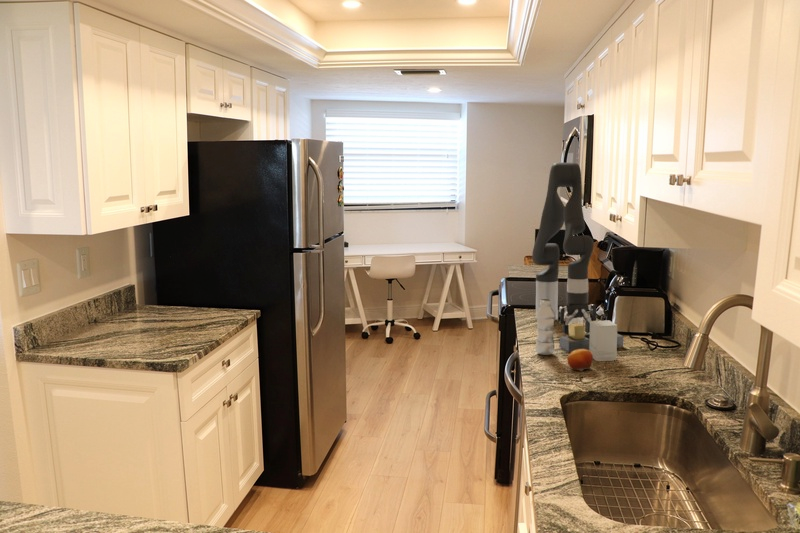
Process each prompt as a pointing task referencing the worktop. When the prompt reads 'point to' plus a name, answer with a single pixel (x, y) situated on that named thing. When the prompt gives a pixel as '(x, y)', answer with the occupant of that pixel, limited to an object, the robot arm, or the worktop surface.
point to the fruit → (580, 359)
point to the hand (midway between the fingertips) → (576, 333)
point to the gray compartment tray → (582, 343)
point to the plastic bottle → (545, 328)
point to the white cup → (574, 319)
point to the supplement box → (603, 340)
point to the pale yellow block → (576, 331)
